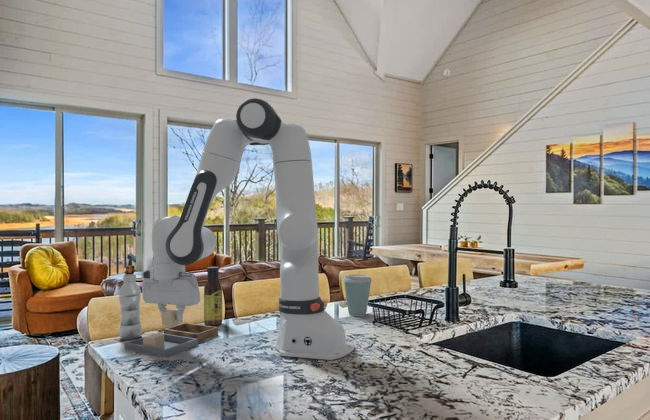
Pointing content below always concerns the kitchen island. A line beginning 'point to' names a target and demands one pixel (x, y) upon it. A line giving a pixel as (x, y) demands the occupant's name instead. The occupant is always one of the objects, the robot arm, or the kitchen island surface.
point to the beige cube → (154, 340)
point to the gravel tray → (170, 345)
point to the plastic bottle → (130, 308)
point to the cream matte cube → (170, 317)
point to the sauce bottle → (212, 298)
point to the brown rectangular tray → (193, 331)
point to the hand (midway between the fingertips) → (172, 319)
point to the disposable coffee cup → (357, 293)
